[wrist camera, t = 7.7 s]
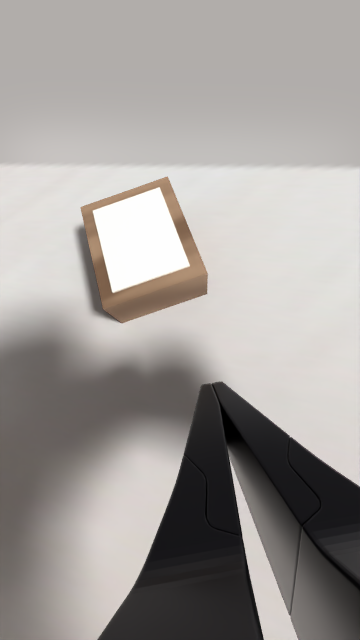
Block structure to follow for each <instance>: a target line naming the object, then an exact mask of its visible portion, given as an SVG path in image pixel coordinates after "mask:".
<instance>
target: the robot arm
mask: <svg viewBox="0 0 360 640" xmlns="http://www.w3.org/2000/svg"><path fill="white" fill-rule="evenodd" d="M229 457H230V460H231V462H232V465H233V468H234V470H235V473H236V476H237V478H238V481H239V484H240V486H241V489H242V491H243V494H244V497H245V499H246V502H247V505H248V507H249V510H250V513H251V515H252V518H253V521H254V523H255V526H256V528H257V531H258V534H259V536H260V539H261V542H262V544H263V547H264V550H265V552H266V555H267V558H268V560H269V563H270V565H271V568H272V571H273V573H274V576H275V579H276V581H277V584H278V587H279V589H280V592H281V595H282V597H283V600H284V602H285V605H286V608H287V610H288V613H289V615H290V616H291V621H292V624H293V626H294V629H295V632H296V634H297V637H298V640H360V486H358V485H357V484H355V483H354V482H352V481H351V480H349V479H348V478H346V477H345V476H343V475H342V474H340V473H339V472H337V471H336V470H335V469H333V468H332V467H330V466H329V465H327V464H326V463H325V462H323V461H322V460H320V459H319V458H317V457H316V456H315V455H314V454H312V453H311V452H310V451H308V450H307V449H306V448H304V447H303V446H302V445H301V444H299V443H298V442H297V441H296V440H294V439H293V438H292V437H290V436H289V435H288V434H287V433H285V432H284V431H283V430H282V429H280V428H279V427H278V426H277V425H275V424H274V423H273V422H272V421H271V420H269V419H268V418H267V417H266V416H264V415H263V414H262V413H261V412H259V411H258V410H257V409H256V408H254V407H253V406H252V405H251V404H249V403H248V402H247V401H246V400H244V399H243V398H242V397H241V396H239V395H238V394H237V393H236V392H234V391H233V390H232V389H231V388H229V387H228V386H227V385H226V384H224V383H223V382H215V383H212V384H210V383H209V384H203V385H202V386H201V389H200V393H199V396H198V400H197V404H196V408H195V412H194V416H193V420H192V424H191V428H190V432H189V436H188V440H187V443H186V447H185V451H184V456H183V459H182V462H181V466H180V470H179V473H178V477H177V480H176V484H175V486H174V489H173V492H172V495H171V498H170V500H169V503H168V506H167V508H166V511H165V513H164V516H163V518H162V521H161V524H160V526H159V529H158V531H157V534H156V536H155V539H154V541H153V544H152V546H151V549H150V552H149V554H148V556H147V559H146V561H145V564H144V566H143V568H142V570H141V572H140V575H139V577H138V578H137V580H136V582H135V584H134V586H133V588H132V589H131V591H130V593H129V594H128V596H127V597H126V599H125V600H124V602H123V603H122V604H121V606H120V607H119V609H118V610H117V612H116V613H115V615H114V616H113V618H112V619H111V621H110V622H109V623H108V625H107V626H106V628H105V629H104V631H103V632H102V634H101V635H100V637H99V638H98V640H264V639H263V634H262V629H261V625H260V620H259V616H258V611H257V607H256V602H255V598H254V593H253V589H252V584H251V580H250V575H249V570H248V565H247V559H246V554H245V548H244V543H243V539H242V531H241V525H240V519H239V513H238V507H237V501H236V495H235V490H234V484H233V478H232V472H231V466H230V460H229Z"/></svg>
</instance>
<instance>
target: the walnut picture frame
mask: <svg viewBox="0 0 360 640" xmlns="http://www.w3.org/2000/svg"><path fill="white" fill-rule="evenodd" d="M81 212H82V216H83V221H84V225H85V230H86V234H87V239H88V243H89V248H90V252H91V257H92V261H93V266H94V270H95V275H96V279H97V284H98V288H99V293H100V297H101V302H102V306H103V310H105V311H106V312H107V313H109V314H110V315H111V316H113V317H114V318H115V319H117V320H118V321H119V322H121V323H124V322H127V321H130V320H133V319H136V318H138V317H141V316H144V315H147V314H150V313H153V312H156V311H159V310H162V309H165V308H167V307H170V306H173V305H176V304H179V303H182V302H185V301H188V300H191V299H194V298H196V297H199V296H202V295H205V294H207V275H208V273H207V271H206V268H205V266H204V264H203V261H202V259H201V256H200V254H199V251H198V249H197V247H196V244H195V242H194V239H193V237H192V234H191V232H190V230H189V227H188V225H187V222H186V220H185V217H184V215H183V213H182V210H181V208H180V205H179V203H178V201H177V198H176V196H175V193H174V191H173V188H172V186H171V184H170V181H169V179H168V177H165V178H162V179H159V180H156V181H154V182H151V183H148V184H145V185H142V186H139V187H137V188H134V189H131V190H128V191H125V192H122V193H120V194H117V195H114V196H111V197H108V198H105V199H102V200H100V201H97V202H94V203H91V204H88V205H85V206H83V207H81Z"/></svg>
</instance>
